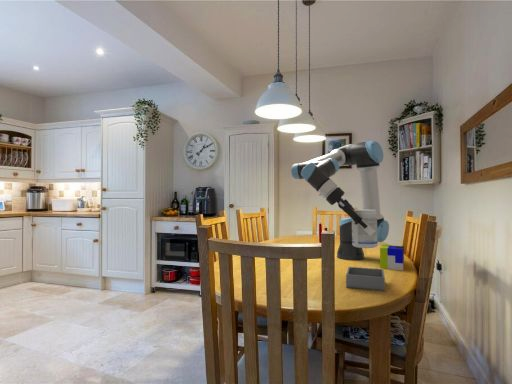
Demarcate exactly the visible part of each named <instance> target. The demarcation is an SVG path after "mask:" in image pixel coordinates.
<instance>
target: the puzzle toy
mask: <svg viewBox="0 0 512 384" xmlns="http://www.w3.org/2000/svg"><path fill="white" fill-rule="evenodd" d="M379 260H380V261H379V263H380V264H379V269H383V270H385V269H386V270H393V269H394V271H396V270H397V271H404V269H405V246H404V245H389V244H382V245H381V246H380V247H379Z"/></svg>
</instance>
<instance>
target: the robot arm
mask: <svg viewBox="0 0 512 384" xmlns="http://www.w3.org/2000/svg"><path fill="white" fill-rule="evenodd" d="M383 160H384V151H383V147H382V146H381V144H380V143H379V142H378V141H376V140H369V141H368V140H367V141H363V142H356V143H349V144H346V145H343V146H340V147H338V148H335V149H333V150H332V151H331V152H330V153H327V154H324V155H322V156H318V157H316V158H315V157H314V158H313V159H310V160H307V161H305V162H298V163H294V164H293V165H292V166H291V170H290V172H291V176H292V178H293V179H296V180H305V182H307V183H308V185H310V186H311V187H312V188H313V189H315V191H316V192H317V193H318V196H320V197H322V198H323V199H325V201H327V203H329V204H330V205H331V206H334V205H335V204H336V203H337V206H338V208H339V209H340V210H342V211H343V212H344V213H346V214H347V216H349V217H344V218H341V219H339V226H338V227H339V245H338V248H337V249H338V250H337V251H336V257H337V258H338V259H341V260H350V261H357V260H364V259H365V252H364V250H363V249H364V248H358V247H354V246H353V245H352V219H353V220H354V222H355V223H354V224H356V225H357V224H358V225H359V226H360V227H361V228H362V229H363V230H364V231H365V232H366V233H367V234H368V235H370V236H371V235H372V234H373V233H374V232H376V231H375V230H374V229H373V228H372V227H371V226H370V225H369V224H368V223H367V222H365V221H364V220H363V219H362V218H361V217H360V216H359V215H358V214H357V213H356V212H355V211H354V210H356V209H355V207H353V205H352V204H351V203H350V202H349V201H348V200H347V199H346V198H345V199H343V198H342V197H343V196H344V195H345V191H344V190H343V189H342V188H341V187H339V186H338V184H336V182H335V181H334V180H332V179H331V177H333V176H334V175H335V174H336V173H337V172H338V171H339V169H340V167H342V166H356V169H357V170H358V171H359V176H360V178H359V179H360V188H361V200H362V210H376V213H377V240H378V243H382V242H384V241H386V240H387V238H388V236H389V233H390V224H389V222H388V220H385V217H384V215H383V214H382V213H381V204H380V194H379V192H380V191H379V177H378V168H379V167H380V163H382V162H383Z"/></svg>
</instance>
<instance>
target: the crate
mask: <svg viewBox="0 0 512 384" xmlns="http://www.w3.org/2000/svg"><path fill="white" fill-rule="evenodd" d="M345 276H346V277H345V284H346V285H345V286H346V288H347V289H358V290H367V291H368V290H369V291H378V292H385V291H386V283H385V281H386V279H385V271H384V268H370V267H369V268H368V267H356V266H348V268H347V271H346V275H345Z"/></svg>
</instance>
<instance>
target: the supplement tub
mask: <svg viewBox="0 0 512 384" xmlns="http://www.w3.org/2000/svg"><path fill="white" fill-rule="evenodd" d="M354 211H355V212H356V213H357V214H358V215H359V216H360V217H361V218H362V219H363V220H364V221H365V222H367V223H368V224H369V225H370V226H371V227H372V228H373V229H374V230H375V231H376V232H374V233H373V234H372V235H371V236H370V235H368V234H367V233H366V232H365V231H364V230H363V229H362V228H361V227H360V226H359V225H358V224H357V225H356V224H354V223H355V222H354V220H353V219H352V245H353V246H354V247H358V248H362V249H374V248H377V247H378V245H379V244H378V243H379V242H378V240H377V213H376V210H363V209H355V210H354Z"/></svg>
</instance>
